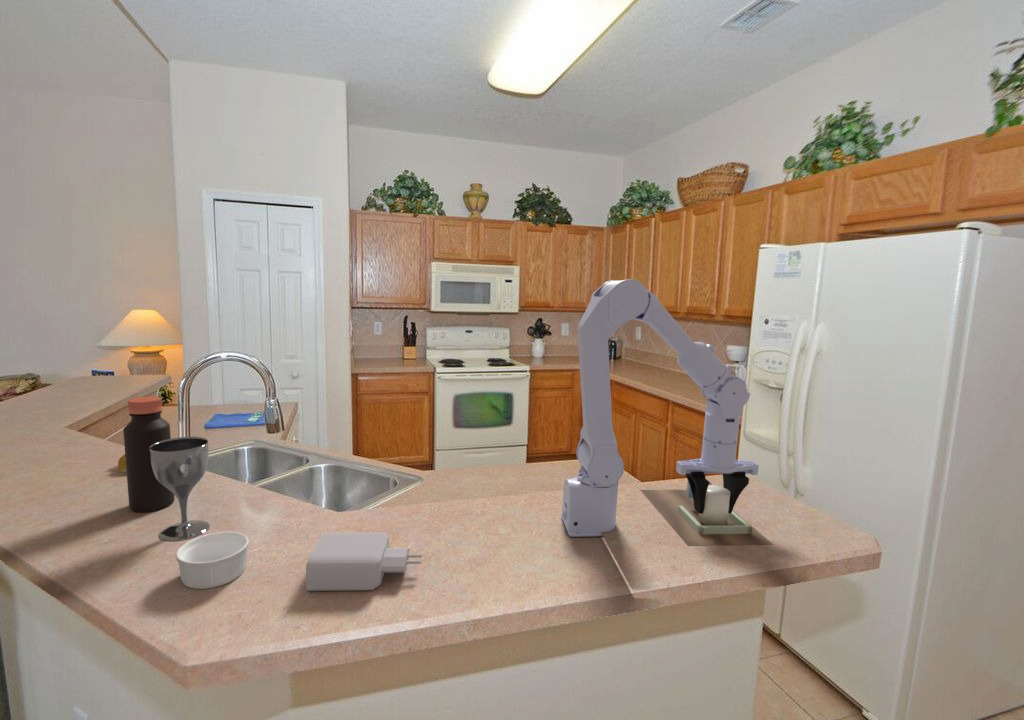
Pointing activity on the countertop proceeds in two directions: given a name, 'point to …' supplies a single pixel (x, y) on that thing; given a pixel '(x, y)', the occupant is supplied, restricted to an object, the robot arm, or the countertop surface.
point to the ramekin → (212, 559)
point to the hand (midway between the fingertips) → (713, 511)
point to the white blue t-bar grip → (714, 505)
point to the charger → (354, 561)
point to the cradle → (740, 528)
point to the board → (668, 509)
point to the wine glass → (180, 479)
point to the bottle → (145, 454)
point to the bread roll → (122, 464)
